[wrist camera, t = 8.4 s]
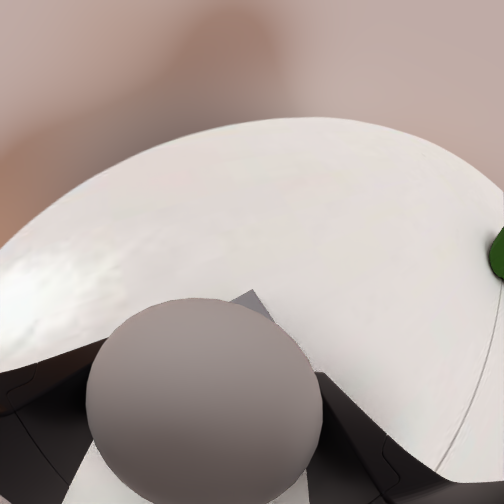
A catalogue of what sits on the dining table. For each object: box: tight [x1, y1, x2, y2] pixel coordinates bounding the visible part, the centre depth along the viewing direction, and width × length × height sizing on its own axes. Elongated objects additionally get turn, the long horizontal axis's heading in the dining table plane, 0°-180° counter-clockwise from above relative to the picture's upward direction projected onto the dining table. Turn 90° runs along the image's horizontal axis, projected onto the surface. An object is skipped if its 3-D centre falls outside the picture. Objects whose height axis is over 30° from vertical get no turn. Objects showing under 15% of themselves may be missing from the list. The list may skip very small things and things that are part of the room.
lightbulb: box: [86, 298, 323, 504], centre depth 8 cm, size 6×6×11 cm
